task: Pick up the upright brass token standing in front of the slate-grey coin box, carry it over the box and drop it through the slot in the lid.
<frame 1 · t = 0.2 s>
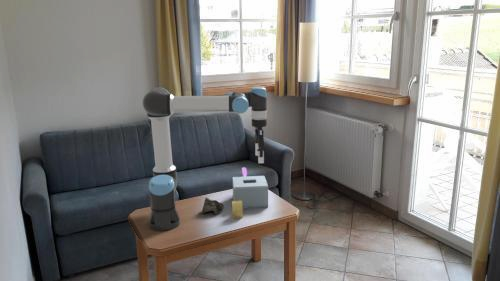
hand: (259, 159, 210), 27 cm above the table, fingers open, 13 cm apart
token: (237, 216, 208), on the table
toy chair: (248, 192, 239), on the table
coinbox: (250, 201, 226), on the table
fossil: (213, 211, 214), on the table
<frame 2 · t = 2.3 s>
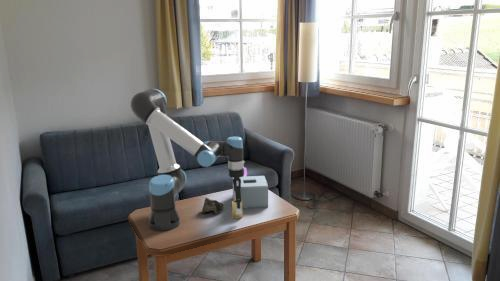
hand: (238, 208, 206), 4 cm above the table, fingers open, 13 cm apart
nothing on the table moved.
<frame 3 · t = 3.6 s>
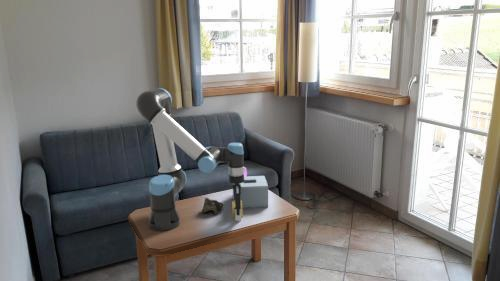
hand: (237, 216, 208), 0 cm above the table, fingers open, 9 cm apart
nothing on the table moved.
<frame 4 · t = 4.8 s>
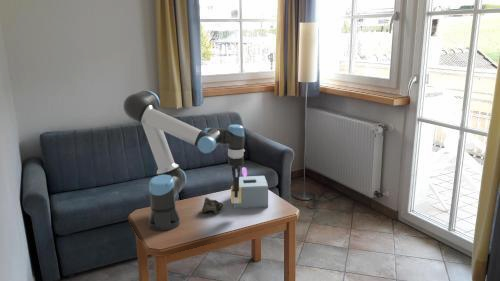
hand: (235, 201, 206), 8 cm above the table, fingers closed on token, 3 cm apart
token: (236, 202, 206), point 8 cm above the table, touching gripper
everything else where it was.
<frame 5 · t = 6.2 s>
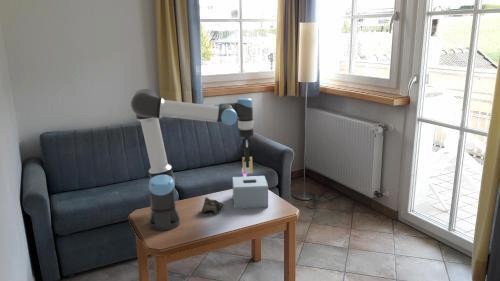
hand: (247, 171, 216), 19 cm above the table, fingers closed on token, 3 cm apart
token: (247, 172, 216), point 19 cm above the table, touching gripper
everything else where it was.
when the fingers open (13 cm above the table, at t = 7.9 s): token drops 12 cm, resting on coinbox.
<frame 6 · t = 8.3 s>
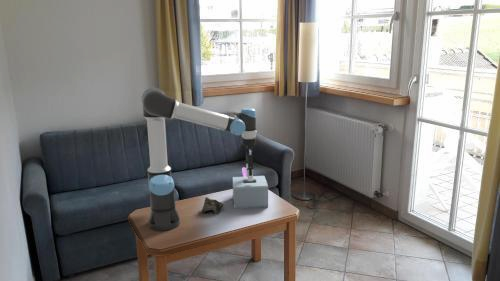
hand: (249, 177, 222), 14 cm above the table, fingers open, 9 cm apart
token: (250, 200, 226), resting on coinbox
everything else where it was.
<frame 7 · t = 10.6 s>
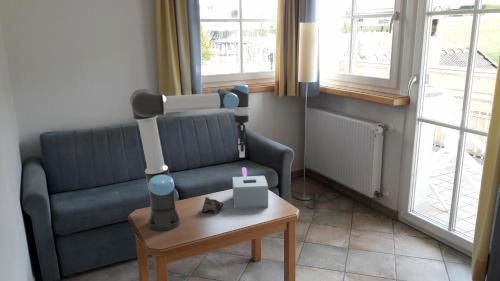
hand: (241, 153, 219), 28 cm above the table, fingers open, 13 cm apart
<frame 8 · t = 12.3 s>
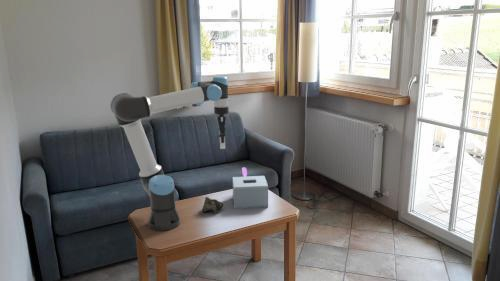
hand: (222, 145, 220), 32 cm above the table, fingers open, 13 cm apart
at the end: token inside the target area on the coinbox (0.2 cm from its centre), point 0.5 cm above the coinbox's base; the gripper is holding nothing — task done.
